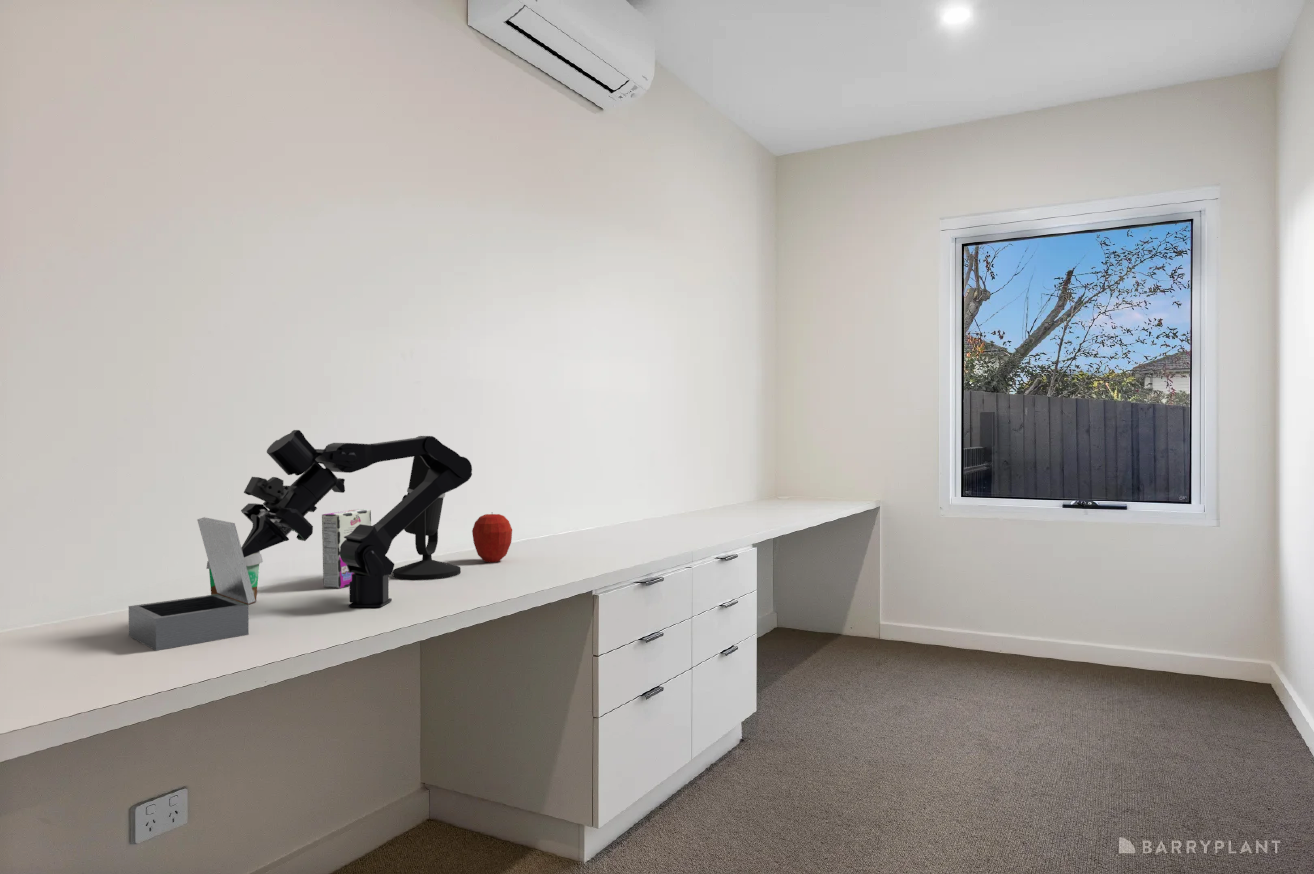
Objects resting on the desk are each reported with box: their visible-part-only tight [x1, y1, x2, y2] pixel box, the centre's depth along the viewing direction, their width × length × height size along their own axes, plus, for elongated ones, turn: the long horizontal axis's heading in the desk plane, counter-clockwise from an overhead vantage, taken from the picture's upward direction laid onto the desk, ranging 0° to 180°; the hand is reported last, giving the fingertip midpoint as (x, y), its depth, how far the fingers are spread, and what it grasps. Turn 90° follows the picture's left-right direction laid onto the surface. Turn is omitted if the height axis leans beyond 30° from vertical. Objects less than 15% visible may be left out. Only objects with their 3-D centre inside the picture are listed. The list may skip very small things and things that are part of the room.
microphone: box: [392, 456, 462, 581], centre depth 199 cm, size 16×16×30 cm
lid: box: [196, 516, 255, 604], centre depth 144 cm, size 14×14×3 cm
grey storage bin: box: [128, 594, 250, 652], centre depth 139 cm, size 14×14×5 cm
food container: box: [206, 551, 264, 606], centre depth 165 cm, size 12×6×10 cm, turn 168°
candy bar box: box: [321, 508, 372, 589], centre depth 186 cm, size 11×5×16 cm, turn 161°
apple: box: [471, 513, 513, 564], centre depth 218 cm, size 10×10×14 cm
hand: (240, 555), depth 146 cm, fingers closed, pressing on lid
